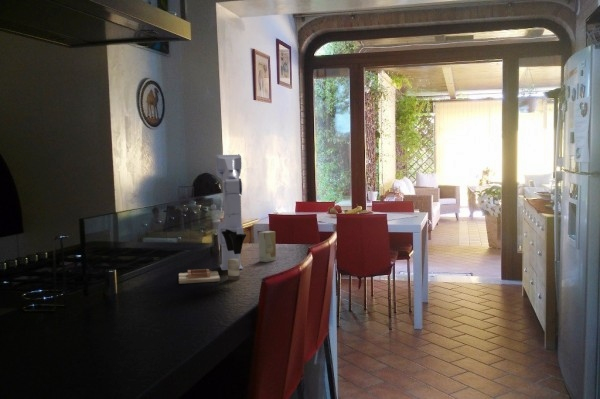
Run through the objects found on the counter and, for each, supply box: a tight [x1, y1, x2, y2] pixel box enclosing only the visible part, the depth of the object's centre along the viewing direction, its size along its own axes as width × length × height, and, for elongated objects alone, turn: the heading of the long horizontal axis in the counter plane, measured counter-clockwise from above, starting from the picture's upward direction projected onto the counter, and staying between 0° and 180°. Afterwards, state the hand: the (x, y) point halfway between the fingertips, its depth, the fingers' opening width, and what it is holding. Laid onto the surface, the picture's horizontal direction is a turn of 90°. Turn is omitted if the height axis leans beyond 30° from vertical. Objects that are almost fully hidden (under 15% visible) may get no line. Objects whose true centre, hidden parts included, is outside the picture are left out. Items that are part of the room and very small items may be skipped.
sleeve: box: [227, 259, 241, 281], centre depth 206 cm, size 4×4×7 cm
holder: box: [178, 268, 221, 284], centre depth 208 cm, size 14×14×2 cm
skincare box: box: [258, 230, 277, 263], centre depth 241 cm, size 6×4×12 cm
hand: (234, 252), depth 204 cm, fingers open, 7 cm apart
